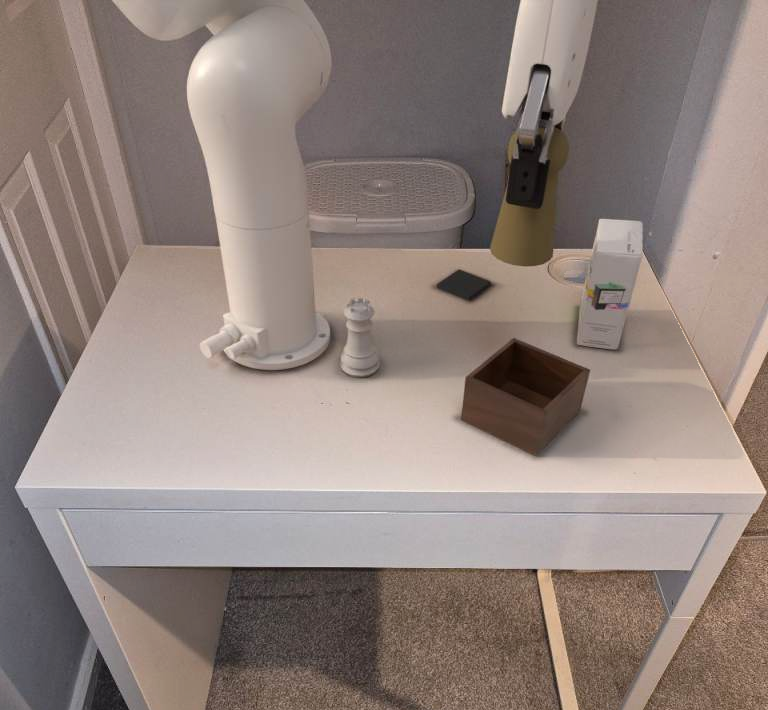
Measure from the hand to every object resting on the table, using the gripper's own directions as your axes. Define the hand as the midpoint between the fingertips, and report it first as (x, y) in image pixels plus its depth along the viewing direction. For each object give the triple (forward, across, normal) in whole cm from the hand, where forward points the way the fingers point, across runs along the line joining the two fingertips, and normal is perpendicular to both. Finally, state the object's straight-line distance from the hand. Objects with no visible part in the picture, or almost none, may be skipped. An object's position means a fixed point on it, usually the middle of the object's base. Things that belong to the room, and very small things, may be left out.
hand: (531, 189), depth 68 cm
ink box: (+21, -14, +8) cm, 27 cm away
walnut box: (+21, +5, +4) cm, 22 cm away
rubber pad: (+21, -18, -9) cm, 29 cm away
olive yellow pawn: (+6, 0, 0) cm, 6 cm away
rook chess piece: (+22, +3, -15) cm, 27 cm away
